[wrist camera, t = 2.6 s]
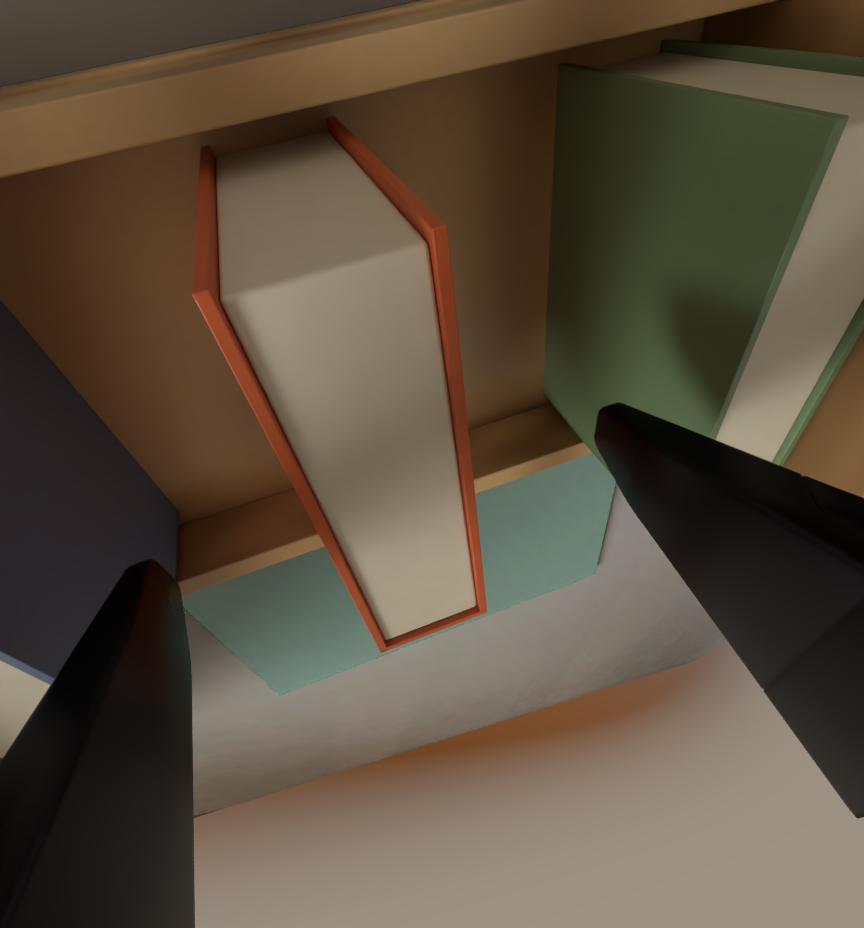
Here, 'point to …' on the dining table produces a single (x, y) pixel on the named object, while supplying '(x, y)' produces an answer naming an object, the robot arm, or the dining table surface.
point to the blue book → (61, 521)
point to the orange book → (349, 365)
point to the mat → (350, 642)
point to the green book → (706, 239)
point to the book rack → (402, 151)
